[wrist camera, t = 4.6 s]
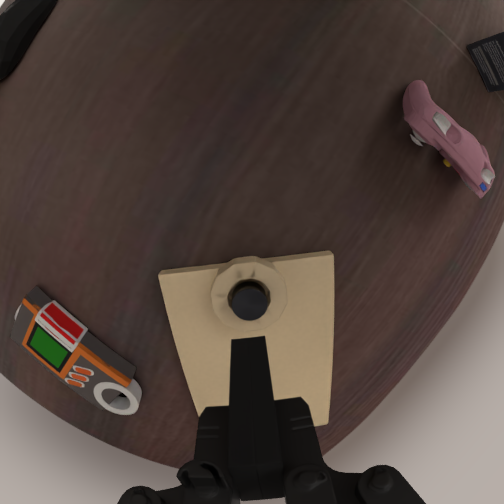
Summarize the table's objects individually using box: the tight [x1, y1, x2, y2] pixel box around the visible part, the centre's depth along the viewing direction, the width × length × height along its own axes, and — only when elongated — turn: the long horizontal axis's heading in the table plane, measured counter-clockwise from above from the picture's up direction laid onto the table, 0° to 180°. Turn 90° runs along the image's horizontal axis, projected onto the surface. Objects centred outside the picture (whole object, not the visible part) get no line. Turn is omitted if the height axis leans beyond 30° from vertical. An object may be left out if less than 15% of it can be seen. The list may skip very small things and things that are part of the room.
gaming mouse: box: [0, 0, 57, 79], centre depth 12 cm, size 6×15×4 cm, turn 146°
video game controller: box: [403, 80, 495, 198], centre depth 17 cm, size 10×5×7 cm, turn 60°
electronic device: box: [10, 286, 142, 415], centre depth 23 cm, size 7×3×15 cm
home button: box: [232, 281, 268, 321], centre depth 20 cm, size 2×2×1 cm
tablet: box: [158, 251, 334, 426], centre depth 23 cm, size 13×20×2 cm, turn 6°
